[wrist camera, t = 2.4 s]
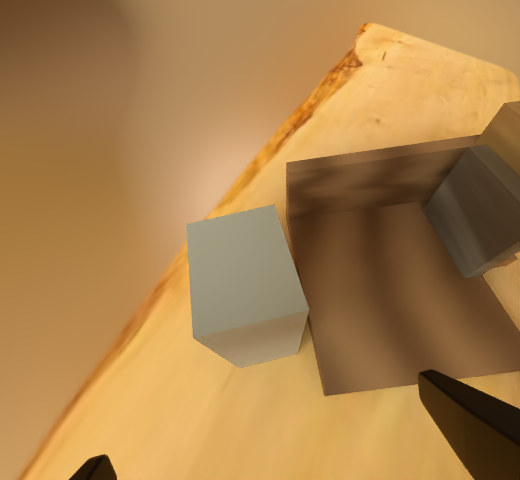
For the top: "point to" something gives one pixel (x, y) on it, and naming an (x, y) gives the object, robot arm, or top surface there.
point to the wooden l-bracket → (408, 257)
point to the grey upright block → (245, 287)
